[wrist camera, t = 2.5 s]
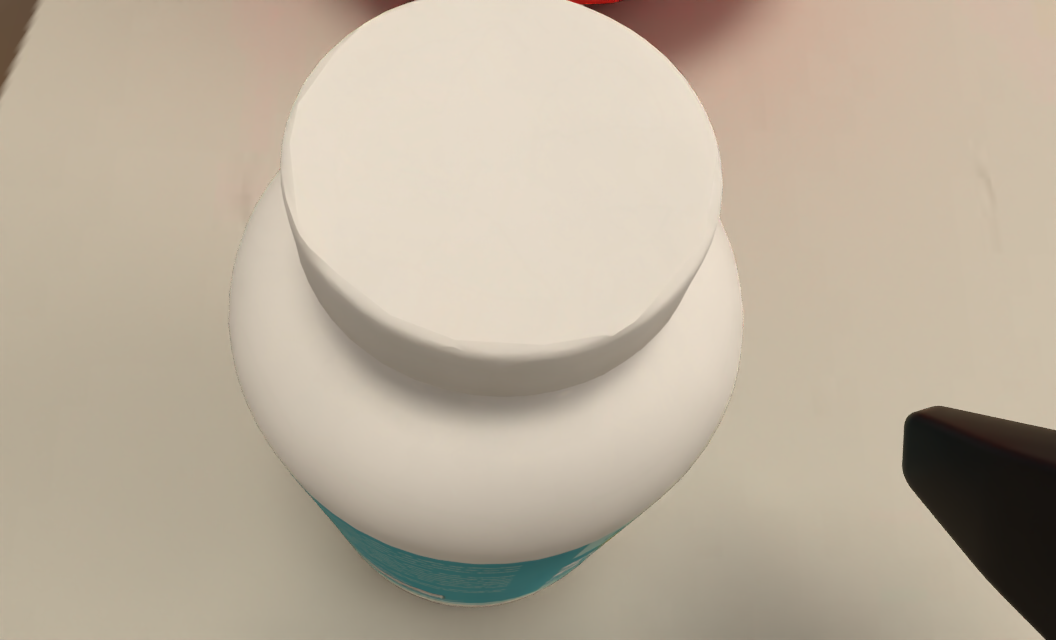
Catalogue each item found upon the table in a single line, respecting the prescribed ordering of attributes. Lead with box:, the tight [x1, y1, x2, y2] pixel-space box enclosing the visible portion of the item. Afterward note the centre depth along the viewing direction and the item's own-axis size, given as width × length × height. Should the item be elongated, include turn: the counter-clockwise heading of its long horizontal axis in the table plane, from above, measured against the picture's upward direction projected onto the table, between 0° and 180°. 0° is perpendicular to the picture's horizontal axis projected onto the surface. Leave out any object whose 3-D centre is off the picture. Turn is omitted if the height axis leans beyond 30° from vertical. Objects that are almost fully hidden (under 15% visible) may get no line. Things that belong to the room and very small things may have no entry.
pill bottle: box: [228, 0, 743, 607], centre depth 14 cm, size 8×7×14 cm
